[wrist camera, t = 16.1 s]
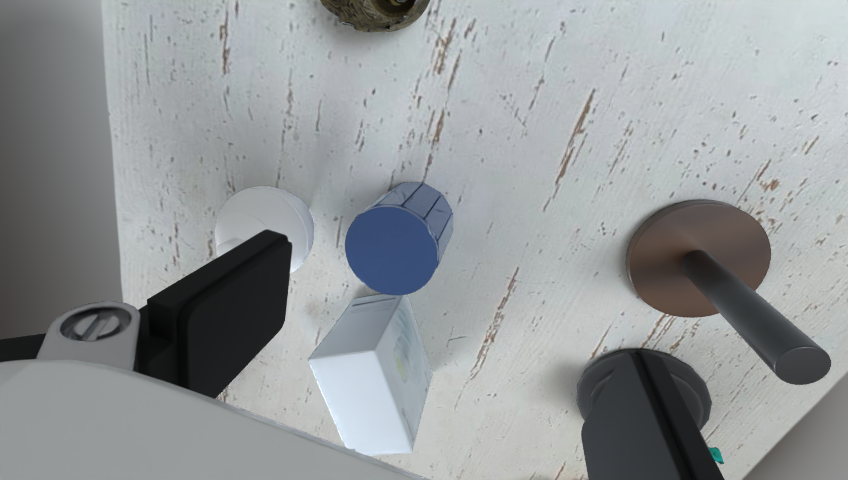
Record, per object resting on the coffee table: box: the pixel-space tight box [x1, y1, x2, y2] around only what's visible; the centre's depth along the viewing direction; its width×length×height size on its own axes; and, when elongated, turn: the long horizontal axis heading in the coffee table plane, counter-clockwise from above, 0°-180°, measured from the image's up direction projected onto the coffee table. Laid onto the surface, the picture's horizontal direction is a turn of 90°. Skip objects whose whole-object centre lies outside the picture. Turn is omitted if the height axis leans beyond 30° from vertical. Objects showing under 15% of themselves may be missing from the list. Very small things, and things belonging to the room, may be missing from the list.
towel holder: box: [626, 200, 831, 385], centre depth 27 cm, size 10×10×14 cm
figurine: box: [577, 349, 724, 464], centre depth 33 cm, size 11×12×12 cm
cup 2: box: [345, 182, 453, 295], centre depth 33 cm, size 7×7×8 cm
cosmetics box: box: [308, 294, 433, 456], centre depth 37 cm, size 10×6×10 cm, turn 16°
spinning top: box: [215, 186, 314, 273], centre depth 33 cm, size 8×8×12 cm
